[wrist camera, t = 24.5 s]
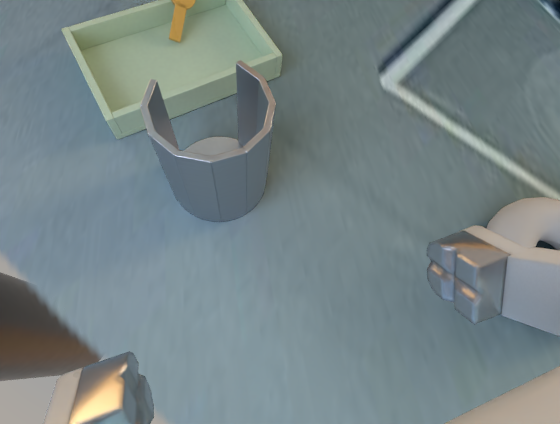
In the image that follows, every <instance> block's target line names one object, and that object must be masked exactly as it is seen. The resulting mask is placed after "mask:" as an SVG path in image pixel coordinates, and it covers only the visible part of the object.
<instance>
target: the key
mask: <svg viewBox="0 0 560 424" xmlns="http://www.w3.org/2000/svg"><path fill="white" fill-rule="evenodd" d="M171 1H172V2H173V4H174V5H175V8H174V13H173V18H172V23H171V28H170V34H169V39H170V40H172V41H175V42H178V43H180V41H181V36H182V31H183V26H184V21H185V15H186V10H189V9H191V8H192V7H193V6H194V4H195V1H196V0H171Z"/></svg>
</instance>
